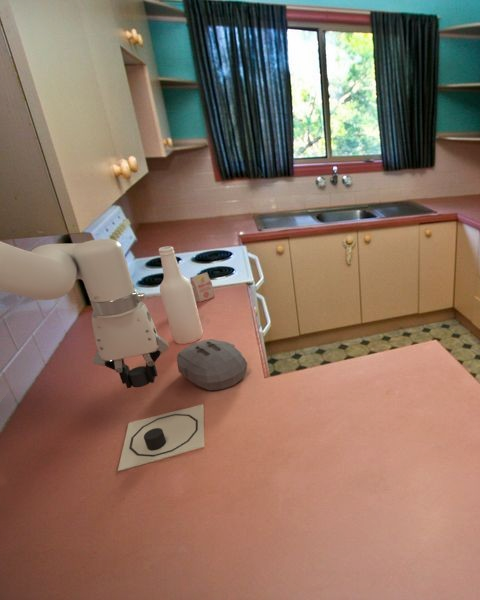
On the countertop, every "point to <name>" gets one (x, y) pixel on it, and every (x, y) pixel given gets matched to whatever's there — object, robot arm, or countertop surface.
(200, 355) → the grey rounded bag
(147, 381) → the cylinder
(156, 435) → the cylinder
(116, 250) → the robot arm
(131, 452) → the sheet
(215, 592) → the countertop surface
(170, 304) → the alcohol
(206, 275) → the small printed carton
